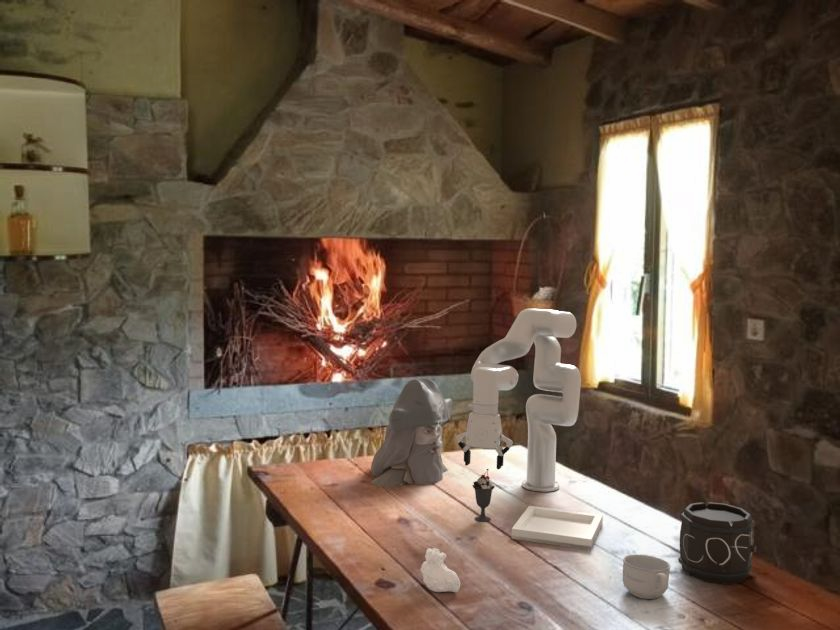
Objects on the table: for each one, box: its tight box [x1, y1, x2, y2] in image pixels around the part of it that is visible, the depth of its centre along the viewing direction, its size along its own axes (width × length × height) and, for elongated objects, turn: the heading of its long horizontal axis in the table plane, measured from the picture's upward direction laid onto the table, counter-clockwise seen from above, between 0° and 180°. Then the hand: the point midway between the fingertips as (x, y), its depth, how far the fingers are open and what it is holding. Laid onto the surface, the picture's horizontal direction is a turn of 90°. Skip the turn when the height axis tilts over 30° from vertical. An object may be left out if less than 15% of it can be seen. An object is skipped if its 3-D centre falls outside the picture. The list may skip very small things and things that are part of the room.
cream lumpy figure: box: [419, 547, 461, 593], centre depth 198 cm, size 12×8×11 cm
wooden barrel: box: [678, 501, 758, 586], centre depth 211 cm, size 18×18×16 cm
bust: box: [370, 377, 453, 488], centre depth 293 cm, size 34×34×35 cm
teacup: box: [622, 554, 671, 600], centre depth 196 cm, size 14×11×8 cm
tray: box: [511, 505, 604, 551], centre depth 240 cm, size 22×22×3 cm
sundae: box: [472, 468, 495, 523], centre depth 249 cm, size 7×7×15 cm
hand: (483, 466), depth 248 cm, fingers open, 9 cm apart
